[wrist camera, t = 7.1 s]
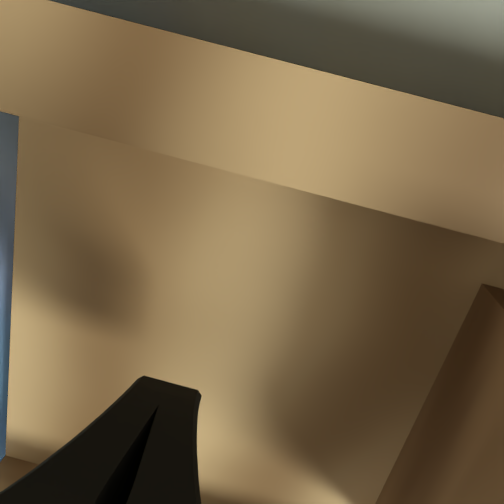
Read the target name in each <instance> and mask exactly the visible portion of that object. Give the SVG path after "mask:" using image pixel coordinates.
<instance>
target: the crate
mask: <svg viewBox="0 0 504 504" xmlns="http://www.w3.org/2000/svg"><path fill="white" fill-rule="evenodd" d="M375 504H504V289H501V288H498V287H494V286H490V285H486V284H481V286H480V288H479V290H478V292H477V295H476V297H475V299H474V301H473V303H472V305H471V307H470V309H469V311H468V313H467V315H466V317H465V319H464V321H463V323H462V325H461V328H460V330H459V332H458V334H457V336H456V338H455V340H454V342H453V344H452V346H451V348H450V350H449V352H448V354H447V356H446V359H445V361H444V363H443V365H442V367H441V369H440V371H439V373H438V375H437V377H436V379H435V381H434V383H433V385H432V387H431V389H430V392H429V394H428V396H427V398H426V400H425V402H424V404H423V406H422V408H421V410H420V412H419V414H418V416H417V418H416V420H415V422H414V425H413V427H412V429H411V431H410V433H409V435H408V437H407V439H406V441H405V443H404V445H403V447H402V449H401V451H400V453H399V456H398V458H397V460H396V462H395V464H394V466H393V468H392V470H391V472H390V474H389V476H388V478H387V480H386V482H385V484H384V486H383V489H382V491H381V493H380V495H379V497H378V499H377V501H376V503H375Z"/></svg>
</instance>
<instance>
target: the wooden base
mask: <svg viewBox="0 0 504 504" xmlns="http://www.w3.org/2000/svg"><path fill="white" fill-rule="evenodd" d="M0 111H1V112H5V113H9V114H13V115H16V116H19V132H18V157H17V182H16V206H15V231H14V256H13V281H12V306H11V331H10V356H9V381H8V406H7V431H6V455H5V457H4V458H3V459H2V461H1V462H0V492H1V491H3V490H4V489H6V488H7V487H9V486H10V485H11V484H13V483H14V482H16V481H17V480H19V479H20V478H21V477H23V476H24V475H26V474H27V473H28V472H30V471H31V470H33V469H34V468H35V467H37V466H38V465H39V464H40V463H42V462H43V461H44V460H46V459H47V458H48V457H50V456H51V455H52V454H53V453H55V452H56V451H57V450H59V449H60V448H61V447H63V446H64V445H65V444H67V443H68V442H69V441H70V440H71V439H73V438H74V437H75V436H76V435H77V434H79V433H80V432H81V431H82V430H83V429H84V428H86V427H87V426H88V425H89V424H90V423H91V422H93V421H94V420H95V419H96V418H97V417H99V416H100V415H101V414H102V413H103V412H104V411H105V410H106V409H107V408H108V407H110V406H111V405H112V404H113V403H114V402H115V401H116V400H117V399H118V398H119V397H120V396H121V395H122V394H123V393H124V392H125V391H126V390H127V389H128V388H129V387H130V386H131V385H132V384H133V383H134V382H135V381H136V380H137V379H138V378H140V377H142V376H148V377H151V378H155V379H159V380H163V381H166V382H170V383H174V384H178V385H181V386H185V387H189V388H193V389H196V390H198V391H199V392H200V394H201V395H202V397H201V401H200V405H199V410H198V421H197V459H198V475H199V487H200V497H201V504H375V503H376V501H377V499H378V497H379V495H380V493H381V491H382V489H383V486H384V484H385V482H386V480H387V478H388V476H389V474H390V472H391V470H392V468H393V466H394V464H395V462H396V460H397V458H398V456H399V453H400V451H401V449H402V447H403V445H404V443H405V441H406V439H407V437H408V435H409V433H410V431H411V429H412V427H413V425H414V422H415V420H416V418H417V416H418V414H419V412H420V410H421V408H422V406H423V404H424V402H425V400H426V398H427V396H428V394H429V392H430V389H431V387H432V385H433V383H434V381H435V379H436V377H437V375H438V373H439V371H440V369H441V367H442V365H443V363H444V361H445V359H446V356H447V354H448V352H449V350H450V348H451V346H452V344H453V342H454V340H455V338H456V336H457V334H458V332H459V330H460V328H461V325H462V323H463V321H464V319H465V317H466V315H467V313H468V311H469V309H470V307H471V305H472V303H473V301H474V299H475V297H476V295H477V292H478V290H479V288H480V286H481V284H486V285H490V286H494V287H498V288H501V289H504V118H500V117H497V116H493V115H489V114H485V113H481V112H477V111H473V110H470V109H466V108H462V107H458V106H454V105H450V104H446V103H443V102H439V101H435V100H431V99H427V98H423V97H419V96H416V95H412V94H408V93H404V92H400V91H396V90H392V89H389V88H385V87H381V86H377V85H373V84H369V83H365V82H362V81H358V80H354V79H350V78H346V77H342V76H338V75H335V74H331V73H327V72H323V71H319V70H315V69H311V68H308V67H304V66H300V65H296V64H292V63H288V62H284V61H281V60H277V59H273V58H269V57H265V56H261V55H257V54H253V53H250V52H246V51H242V50H238V49H234V48H230V47H226V46H223V45H219V44H215V43H211V42H207V41H203V40H199V39H196V38H192V37H188V36H184V35H180V34H176V33H172V32H169V31H165V30H161V29H157V28H153V27H149V26H145V25H142V24H138V23H134V22H130V21H126V20H122V19H118V18H115V17H111V16H107V15H103V14H99V13H95V12H91V11H88V10H84V9H80V8H76V7H72V6H68V5H64V4H61V3H57V2H53V1H49V0H0Z"/></svg>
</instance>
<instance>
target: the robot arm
mask: <svg viewBox="0 0 504 504" xmlns="http://www.w3.org/2000/svg"><path fill="white" fill-rule="evenodd" d="M201 397H202V395H201V394H200V392H199V391H198V390H196V389H193V388H189V387H185V386H181V385H178V384H174V383H170V382H166V381H163V380H159V379H155V378H151V377H148V376H142V377H140V378H138V379H137V380H136V381H135V382H134V383H133V384H132V385H131V386H130V387H129V388H128V389H127V390H126V391H125V392H124V393H123V394H122V395H121V396H120V397H119V398H118V399H117V400H116V401H115V402H114V403H113V404H112V405H111V406H110V407H108V408H107V409H106V410H105V411H104V412H103V413H102V414H101V415H100V416H99V417H97V418H96V419H95V420H94V421H93V422H91V423H90V424H89V425H88V426H87V427H86V428H84V429H83V430H82V431H81V432H80V433H79V434H77V435H76V436H75V437H74V438H73V439H71V440H70V441H69V442H68V443H67V444H65V445H64V446H63V447H61V448H60V449H59V450H57V451H56V452H55V453H53V454H52V455H51V456H50V457H48V458H47V459H46V460H44V461H43V462H42V463H40V464H39V465H38V466H37V467H35V468H34V469H33V470H31V471H30V472H28V473H27V474H26V475H24V476H23V477H21V478H20V479H19V480H17V481H16V482H14V483H13V484H11V485H10V486H9V487H7V488H6V489H4V490H3V491H1V492H0V504H201V497H200V487H199V475H198V459H197V421H198V410H199V405H200V401H201Z"/></svg>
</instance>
